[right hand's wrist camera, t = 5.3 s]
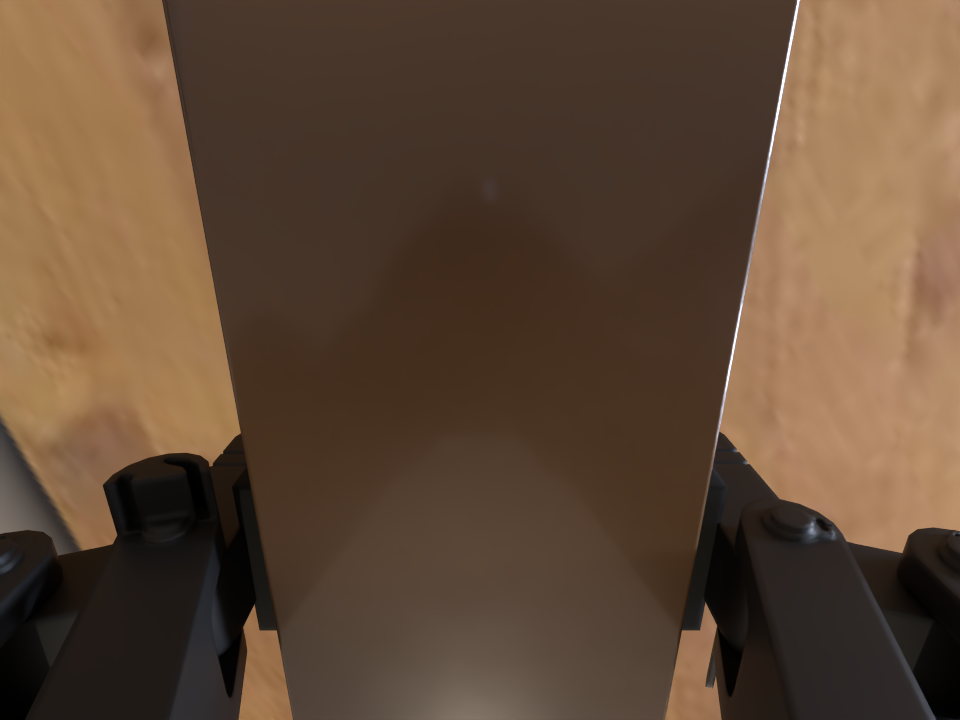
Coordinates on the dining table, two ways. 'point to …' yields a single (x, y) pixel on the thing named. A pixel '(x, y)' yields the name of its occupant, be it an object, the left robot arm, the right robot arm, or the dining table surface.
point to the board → (480, 328)
